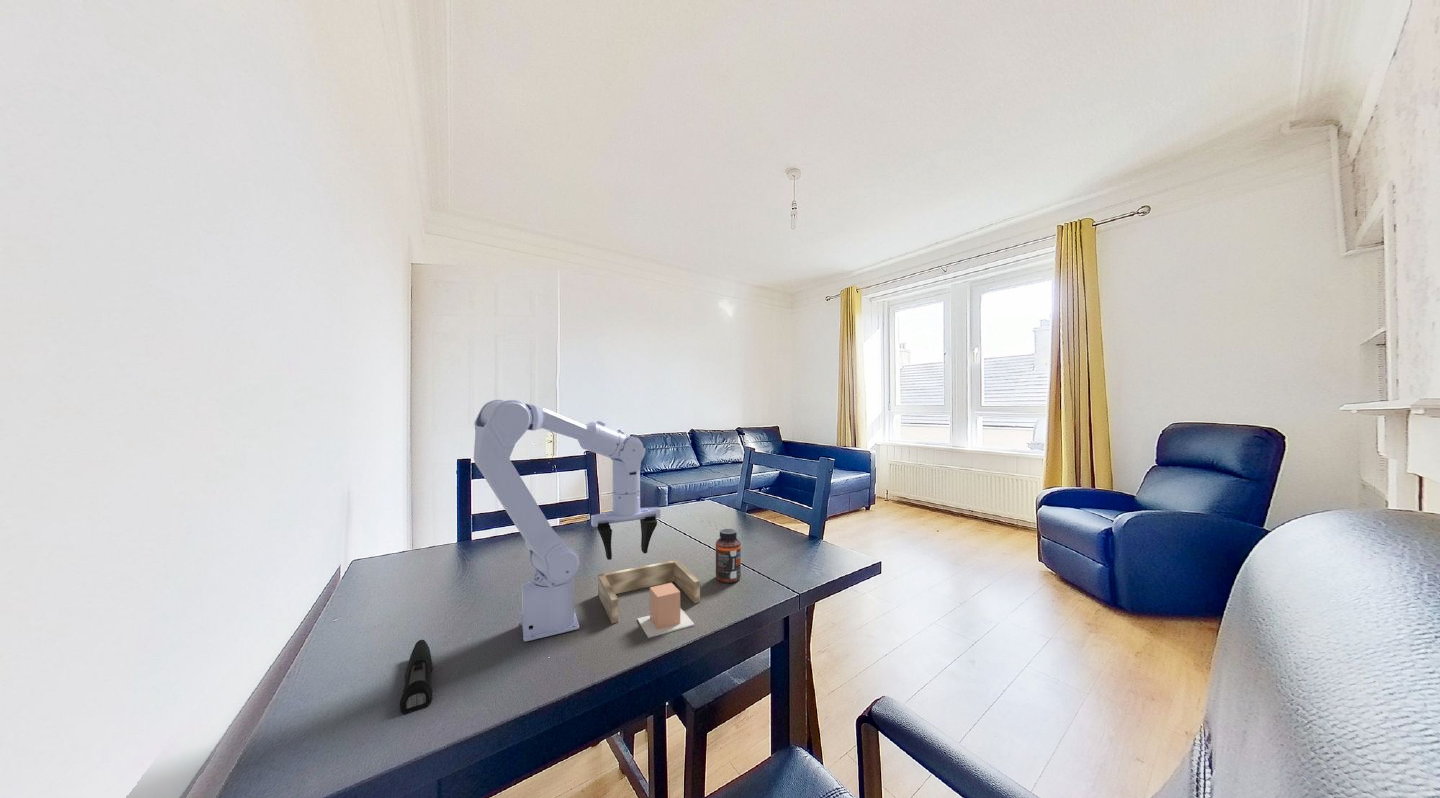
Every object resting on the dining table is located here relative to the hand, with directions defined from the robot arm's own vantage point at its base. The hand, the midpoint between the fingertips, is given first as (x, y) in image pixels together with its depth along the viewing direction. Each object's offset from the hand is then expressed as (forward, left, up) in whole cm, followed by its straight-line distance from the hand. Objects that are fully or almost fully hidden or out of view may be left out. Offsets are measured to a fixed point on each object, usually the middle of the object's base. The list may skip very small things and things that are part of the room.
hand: (626, 555), depth 92 cm
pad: (+4, -13, -9) cm, 17 cm away
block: (+4, -13, -9) cm, 16 cm away
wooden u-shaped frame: (+4, -2, -9) cm, 10 cm away
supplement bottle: (+24, -1, -10) cm, 26 cm away
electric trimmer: (-35, -12, -10) cm, 39 cm away
